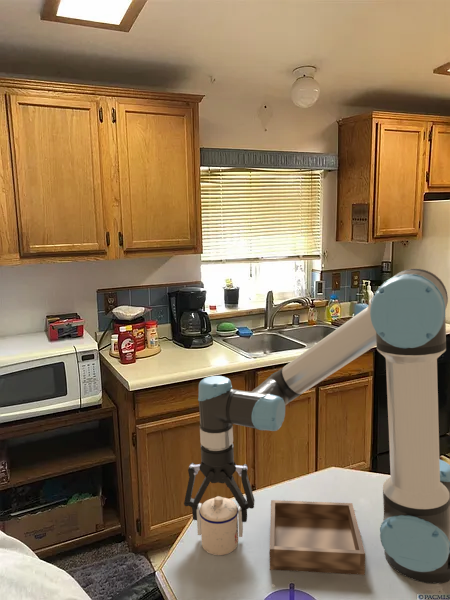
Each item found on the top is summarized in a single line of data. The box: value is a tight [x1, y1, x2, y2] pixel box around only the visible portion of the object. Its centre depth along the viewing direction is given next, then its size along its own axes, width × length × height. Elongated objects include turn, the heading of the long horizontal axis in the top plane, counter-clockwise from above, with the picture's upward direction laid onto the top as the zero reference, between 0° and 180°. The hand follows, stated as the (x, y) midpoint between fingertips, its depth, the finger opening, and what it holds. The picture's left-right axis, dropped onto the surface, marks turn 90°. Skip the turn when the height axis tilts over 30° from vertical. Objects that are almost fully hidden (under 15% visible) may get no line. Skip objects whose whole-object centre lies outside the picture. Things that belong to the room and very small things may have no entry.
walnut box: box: [269, 499, 366, 576], centre depth 109 cm, size 20×18×5 cm
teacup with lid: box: [199, 495, 239, 556], centre depth 111 cm, size 12×9×12 cm
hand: (220, 532), depth 112 cm, fingers closed on teacup with lid, 9 cm apart
